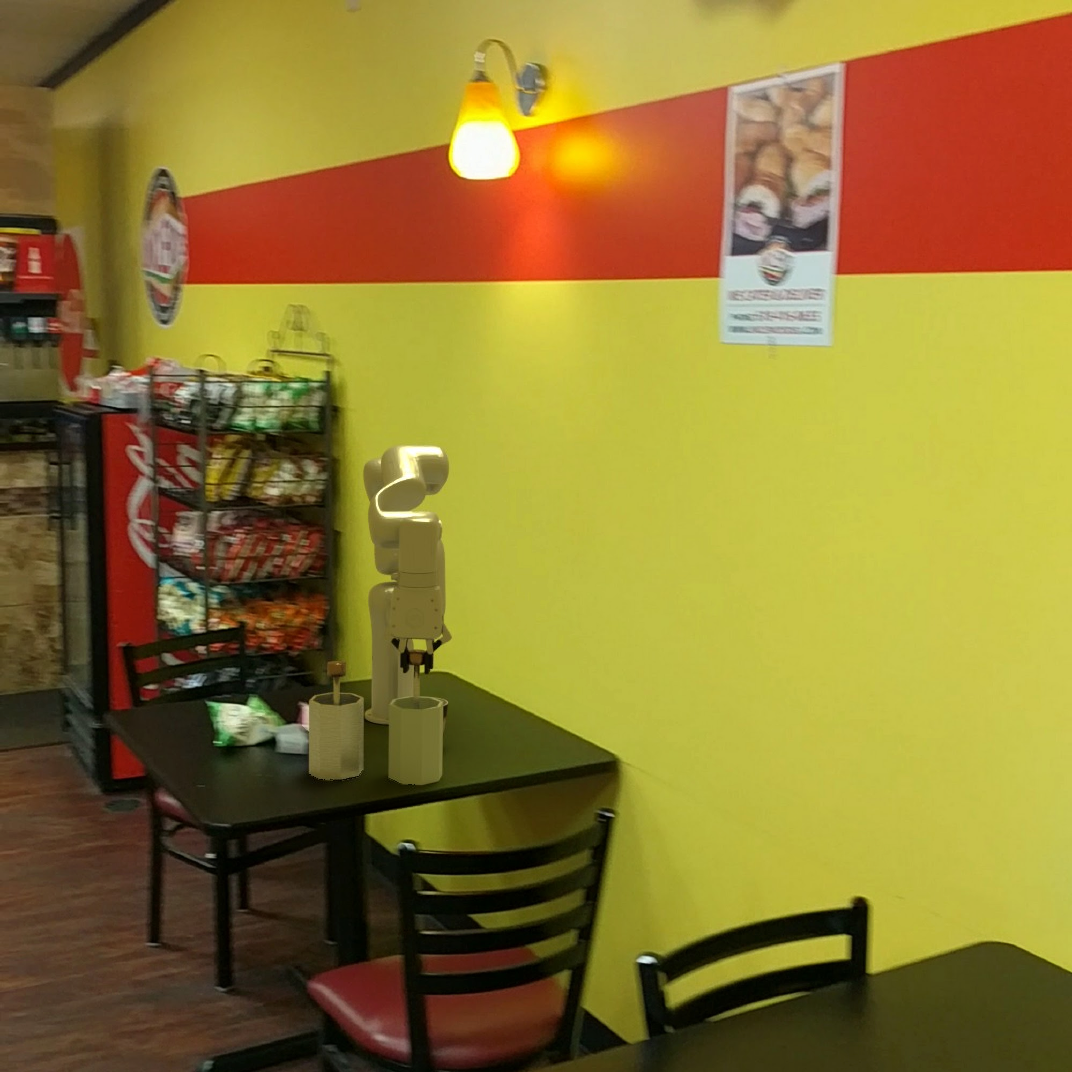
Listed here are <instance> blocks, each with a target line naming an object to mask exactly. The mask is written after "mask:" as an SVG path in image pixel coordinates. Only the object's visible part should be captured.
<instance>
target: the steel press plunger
mask: <svg viewBox="0 0 1072 1072" xmlns="http://www.w3.org/2000/svg"><path fill="white" fill-rule="evenodd" d="M326 671H327V677H329V678H333V692H334V704H333V705H340V693H341V692H340V689H341V685H340V684H341V680H340V679H341V678H342V677H345V676H346V675H347V662H346V661H344V660H343V661H341V660H334V661H333V660H332V661H328V662H327V669H326Z"/></svg>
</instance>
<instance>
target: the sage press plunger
mask: <svg viewBox="0 0 1072 1072" xmlns="http://www.w3.org/2000/svg"><path fill="white" fill-rule="evenodd" d="M425 654H426V650H424V649H414V650H409V651H408V664H409V665H414V673H413V709H419V699H420V697H421V696H420V695H421V694H420V692H421V690H420V689H421V687H420V685H421V683H420V681H421V680H420V679H421V676H420V675H421V666H424V656H425Z"/></svg>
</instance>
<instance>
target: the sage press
mask: <svg viewBox="0 0 1072 1072" xmlns="http://www.w3.org/2000/svg"><path fill="white" fill-rule="evenodd" d="M435 698H436V697H434V698H432V696H420V699H419V709H413V696H408V697H403V698H397V699H393V700H392V702H391V703H390V704H389V724H388V779H389V778H391V779H393V780H395V781H397V782H399V783H402V784H401V785H408V784H412V785H413V786H424V785H428V784H433V783H437V782H439V781H440V780H441V778H442V776H443V751H444V750H443V747H444V746H443V744H444V738H443V701H441V700H438V699H435ZM391 779H390V780H391ZM393 780H392V781H393ZM395 781H394V782H395ZM397 782H396V783H397ZM399 783H398V784H399ZM414 784H415V785H414Z"/></svg>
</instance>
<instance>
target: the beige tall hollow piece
mask: <svg viewBox="0 0 1072 1072" xmlns="http://www.w3.org/2000/svg"><path fill="white" fill-rule="evenodd" d="M364 702H365V698H364V696H361V695H359V694H355V693H354V692H353V693H352V692H340V705H333V704H334V691H331V692H327V693H326V692H325V693H321V694H320V693H319V694H314V695H313V696H312V697H311V698H310V699H309V700H308V774H311V775H310V776H311V777H313V776H314V778H315V777H316V778H315V779H317V778H318V779H317V780H319V779H323V780H322V781H331V780H330V779H333V780H334V779H346V778H349V777H355V776H359V774H360V773H361V771H362V770H363V771H364V743H365V741H364V737H365V736H364V733H365V731H364V725H365V724H364V723H365V722H364V721H365V709H364V708H365V707H364V706H365V703H364ZM361 774H362V773H361ZM361 774H360V775H361ZM359 777H360V776H359ZM324 779H325V780H324ZM333 780H332V781H333Z"/></svg>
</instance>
